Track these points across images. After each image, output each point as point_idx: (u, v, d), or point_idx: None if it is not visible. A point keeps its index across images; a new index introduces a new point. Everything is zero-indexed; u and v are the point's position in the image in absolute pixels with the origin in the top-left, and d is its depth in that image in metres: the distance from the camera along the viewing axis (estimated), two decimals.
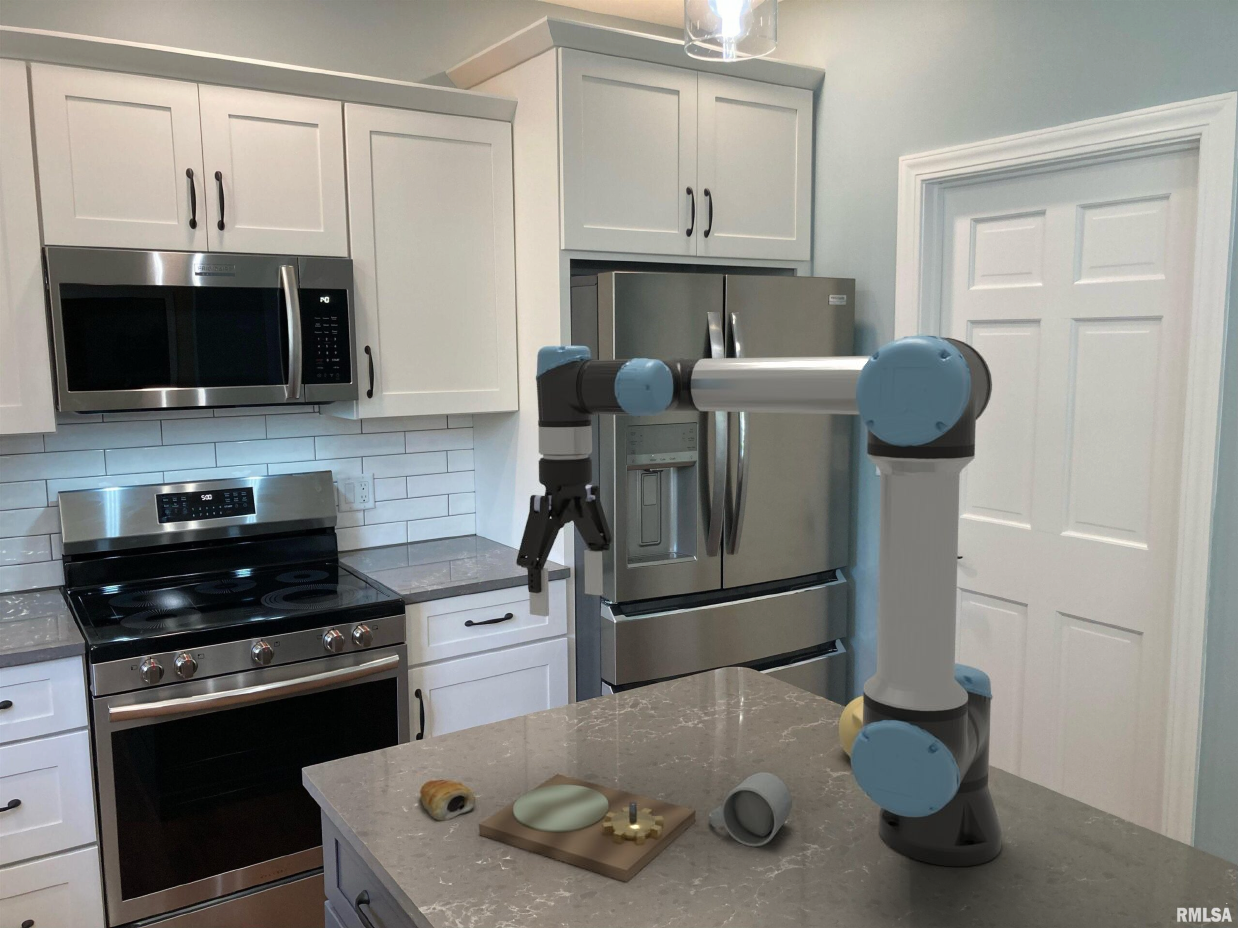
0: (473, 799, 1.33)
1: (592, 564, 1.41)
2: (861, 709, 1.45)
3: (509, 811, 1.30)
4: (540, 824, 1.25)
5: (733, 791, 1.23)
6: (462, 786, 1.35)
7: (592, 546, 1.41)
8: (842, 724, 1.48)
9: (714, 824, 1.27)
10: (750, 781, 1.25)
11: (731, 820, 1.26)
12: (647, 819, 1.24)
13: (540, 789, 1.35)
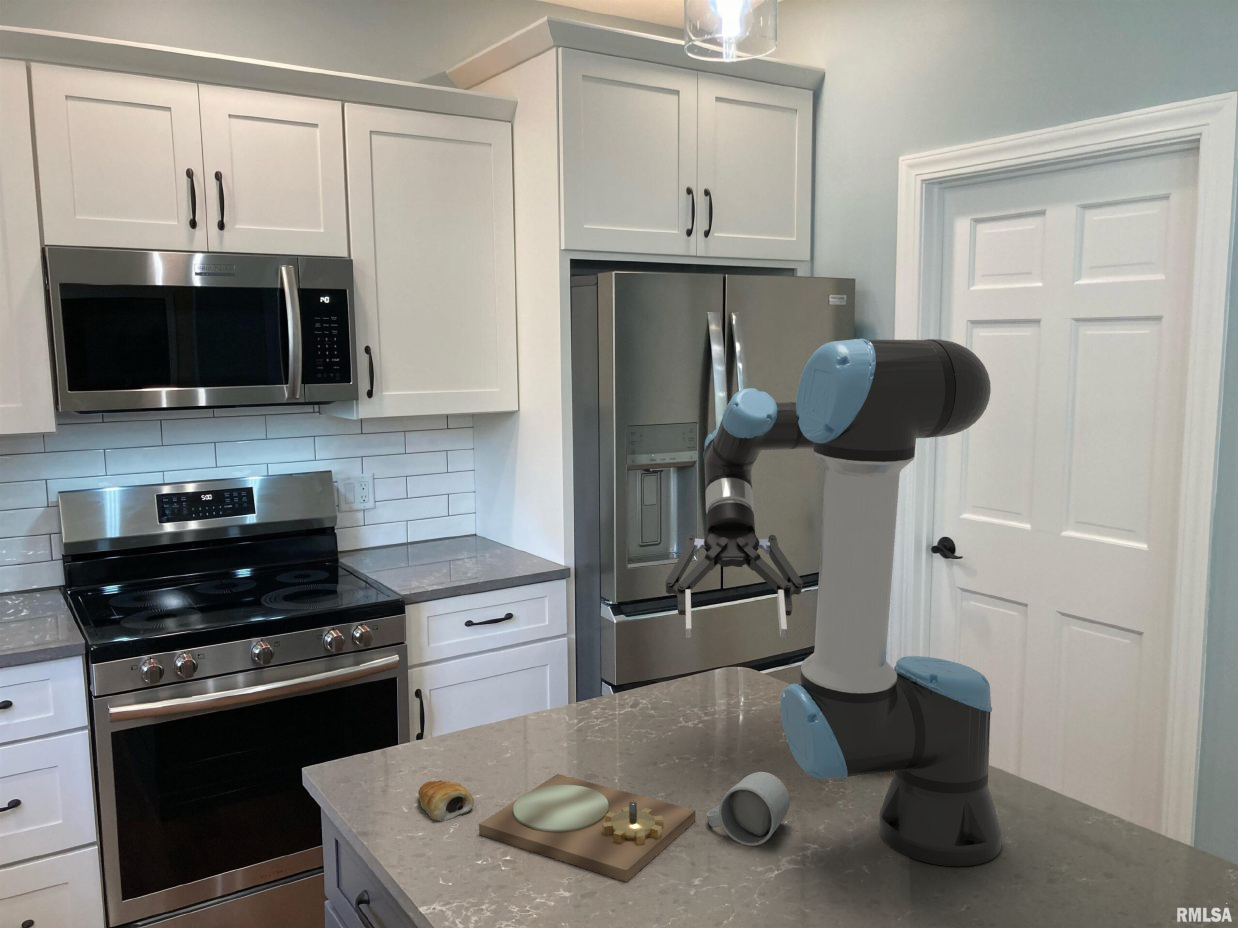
0: (472, 800, 1.33)
1: (778, 605, 1.39)
2: None
3: (509, 811, 1.30)
4: (540, 824, 1.25)
5: (731, 790, 1.24)
6: (461, 787, 1.34)
7: None
8: None
9: (712, 823, 1.27)
10: (748, 780, 1.25)
11: (728, 819, 1.26)
12: (647, 819, 1.24)
13: (540, 789, 1.35)
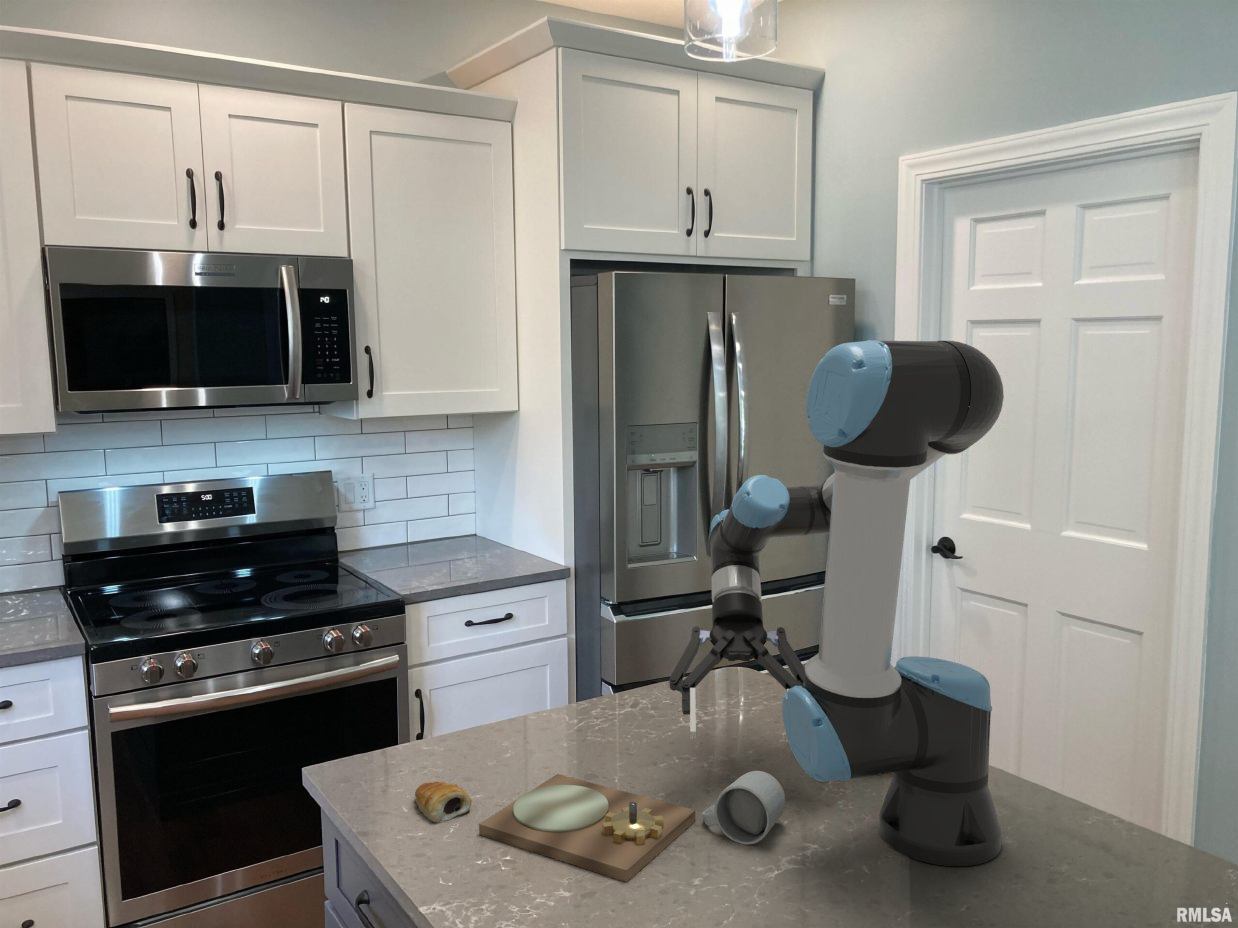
0: (469, 801, 1.33)
1: None
2: None
3: (509, 811, 1.30)
4: (540, 824, 1.25)
5: (726, 789, 1.24)
6: (458, 788, 1.34)
7: None
8: None
9: (707, 822, 1.27)
10: (743, 779, 1.25)
11: (724, 818, 1.26)
12: (647, 819, 1.24)
13: (540, 789, 1.35)
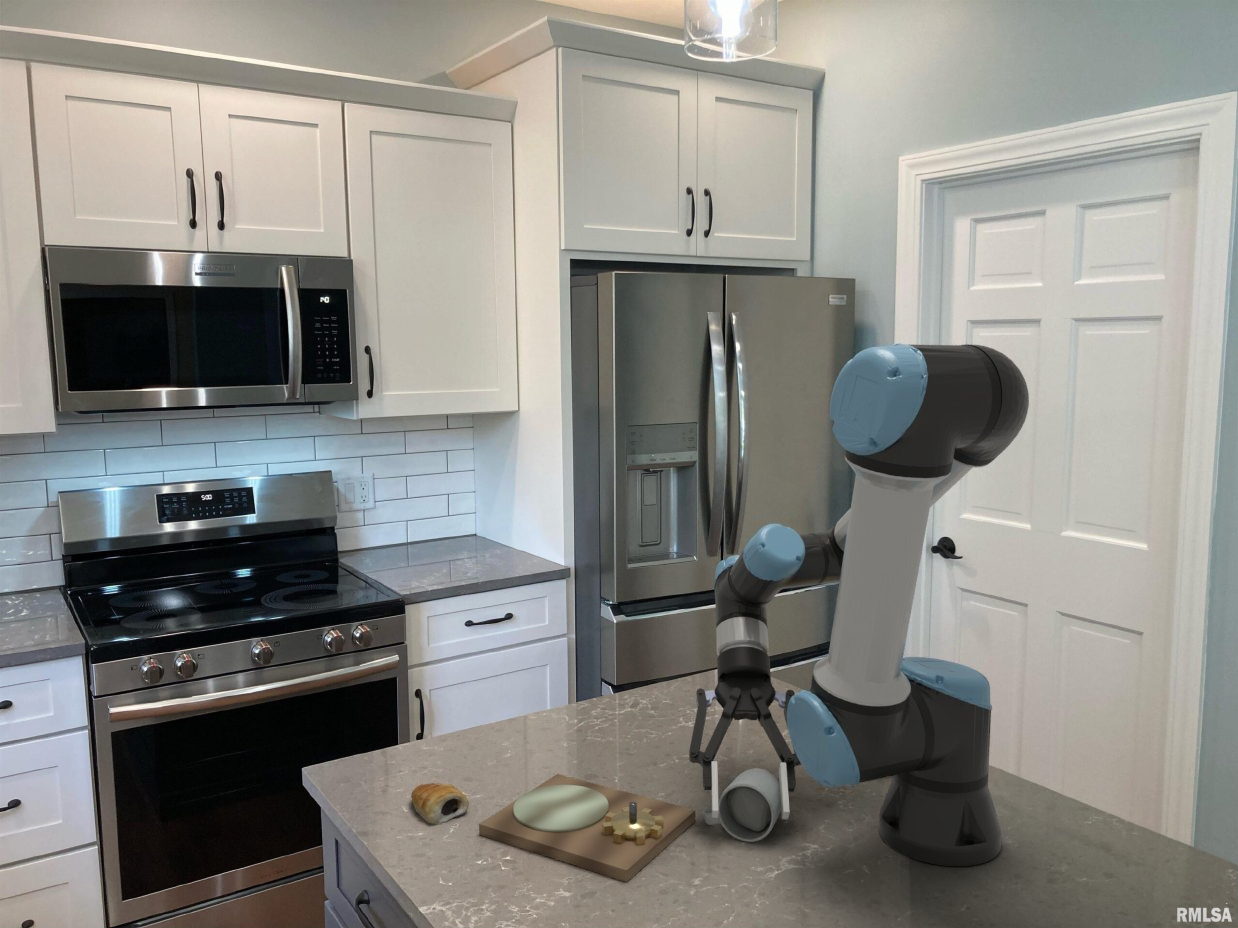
0: (466, 802, 1.32)
1: (780, 780, 1.25)
2: None
3: (509, 811, 1.30)
4: (540, 824, 1.25)
5: (729, 788, 1.24)
6: (455, 789, 1.34)
7: (784, 763, 1.27)
8: None
9: (709, 821, 1.27)
10: (745, 777, 1.26)
11: (726, 816, 1.26)
12: (647, 819, 1.24)
13: (540, 789, 1.35)
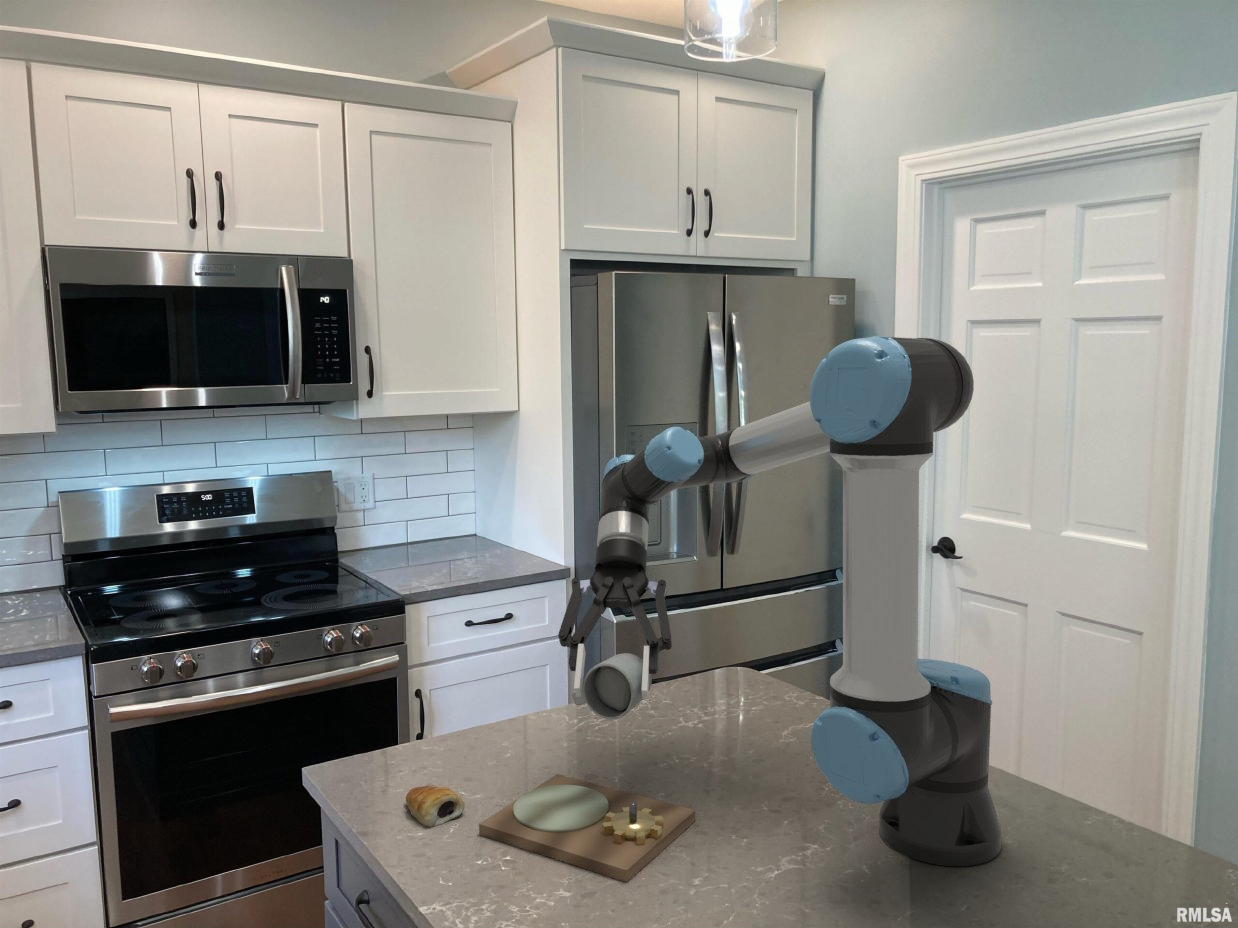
0: (462, 804, 1.32)
1: None
2: None
3: (509, 811, 1.30)
4: (540, 824, 1.25)
5: (593, 668, 1.28)
6: (450, 791, 1.33)
7: None
8: None
9: (576, 702, 1.31)
10: (610, 659, 1.30)
11: (592, 697, 1.31)
12: (647, 819, 1.24)
13: (540, 789, 1.35)
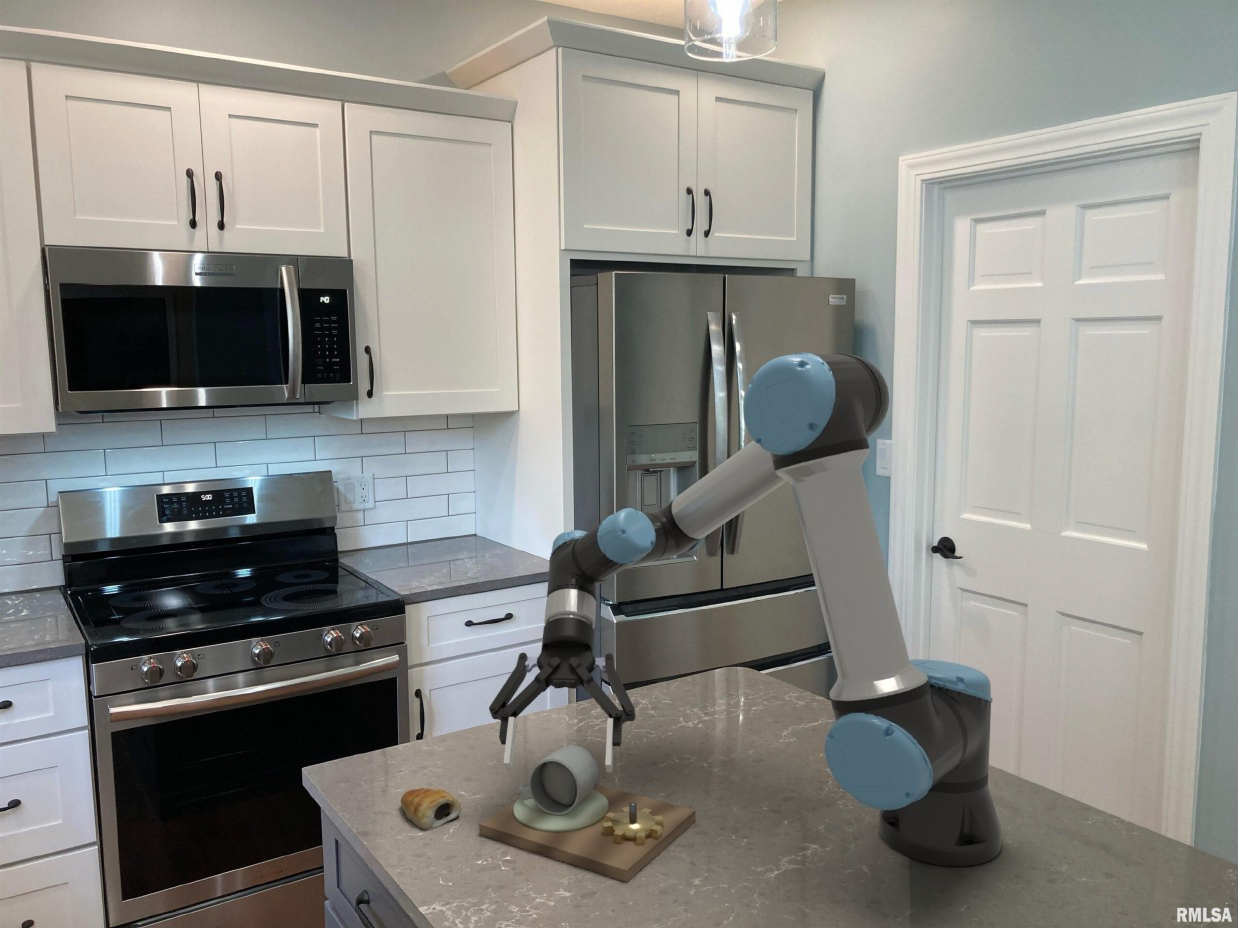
0: (459, 806, 1.31)
1: None
2: None
3: (509, 811, 1.30)
4: (540, 824, 1.25)
5: (539, 763, 1.28)
6: (446, 793, 1.32)
7: None
8: None
9: (523, 796, 1.31)
10: (556, 753, 1.30)
11: (538, 791, 1.30)
12: (647, 819, 1.24)
13: None
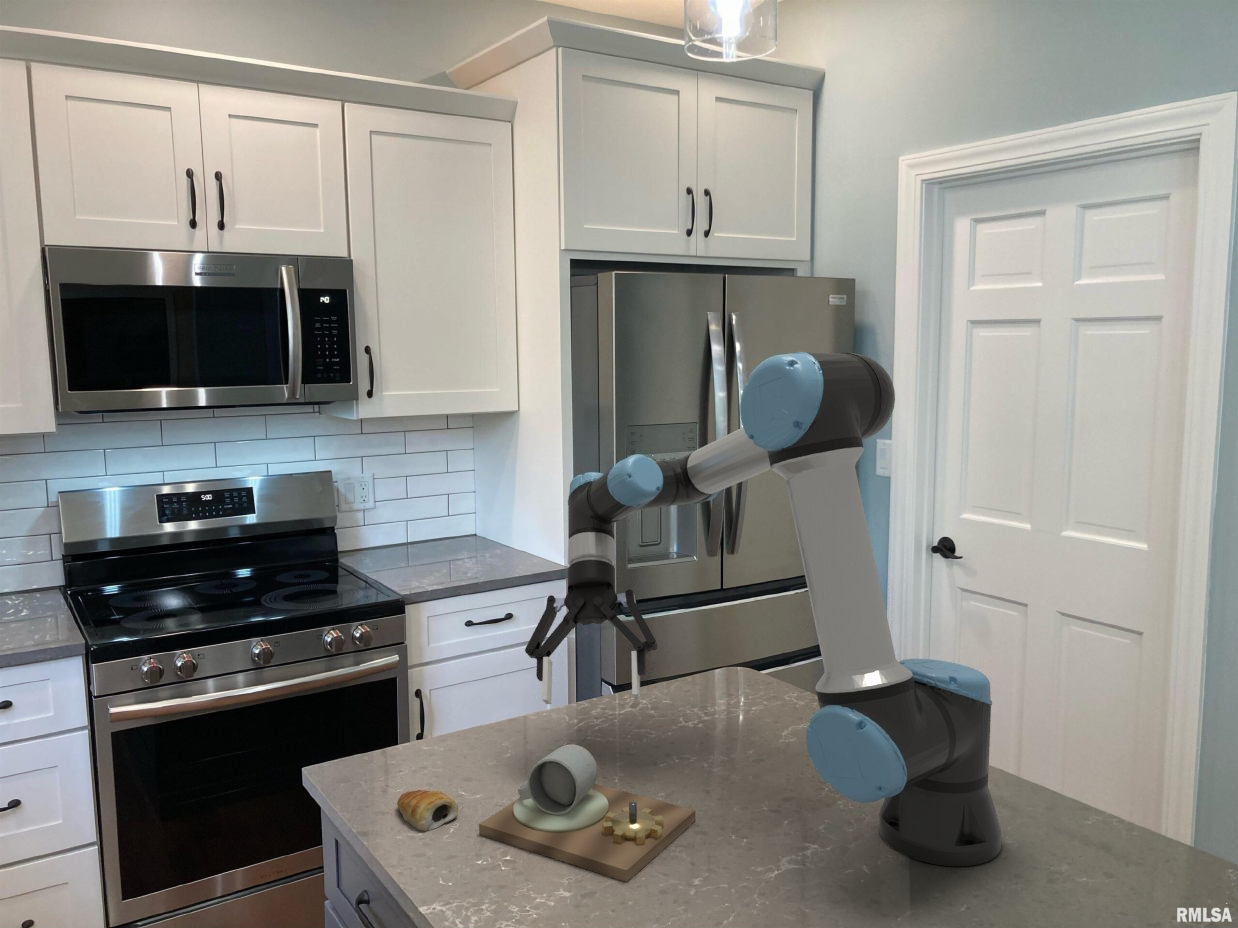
0: (456, 808, 1.31)
1: None
2: None
3: (509, 811, 1.30)
4: (540, 824, 1.25)
5: (538, 763, 1.28)
6: (443, 795, 1.32)
7: (637, 650, 1.44)
8: None
9: (522, 796, 1.31)
10: (555, 753, 1.30)
11: (537, 791, 1.30)
12: (647, 819, 1.24)
13: None
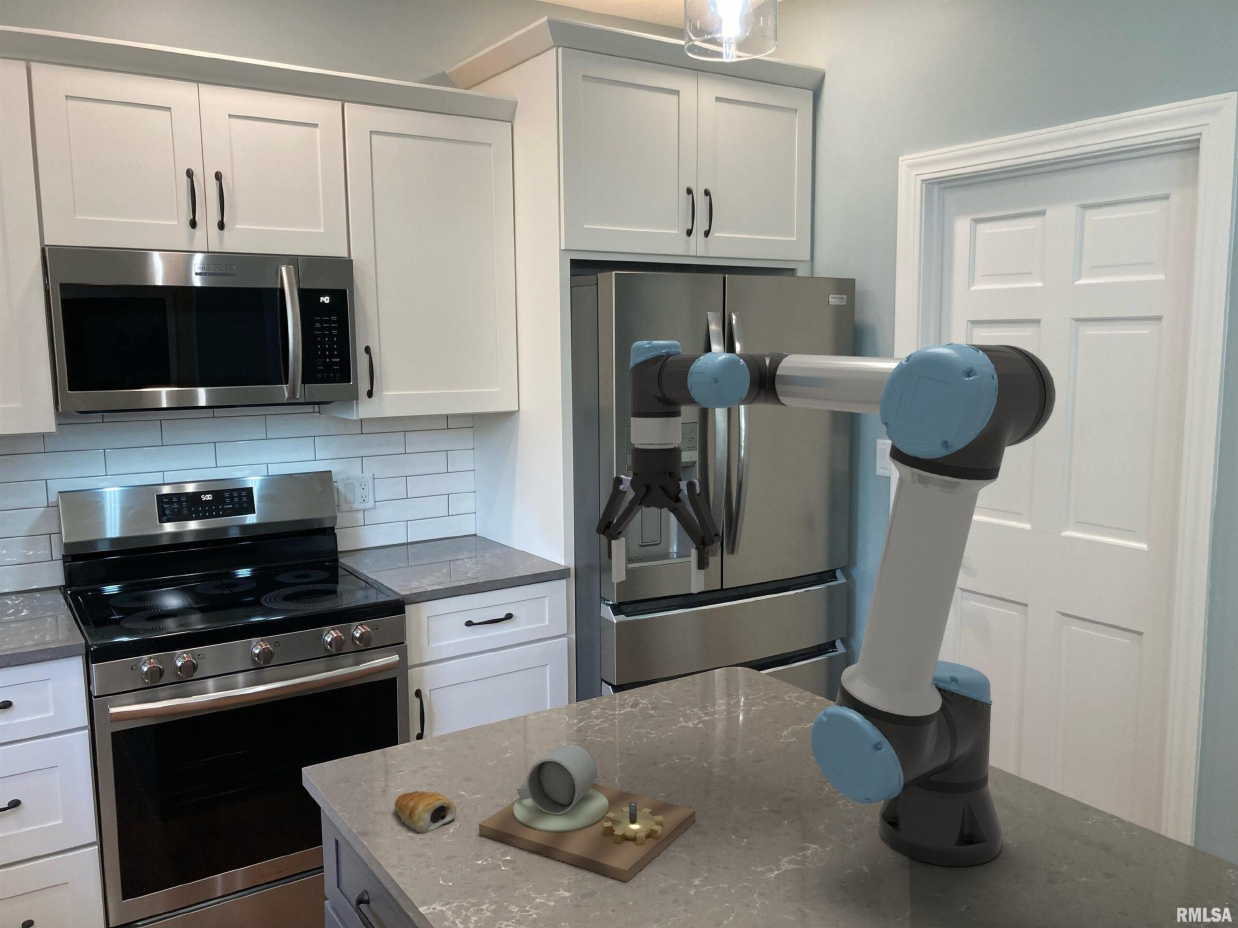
0: (454, 809, 1.31)
1: None
2: None
3: (509, 811, 1.30)
4: (540, 824, 1.25)
5: (537, 763, 1.28)
6: (441, 796, 1.32)
7: None
8: None
9: (521, 796, 1.31)
10: (554, 753, 1.30)
11: (537, 791, 1.30)
12: (647, 819, 1.24)
13: None
